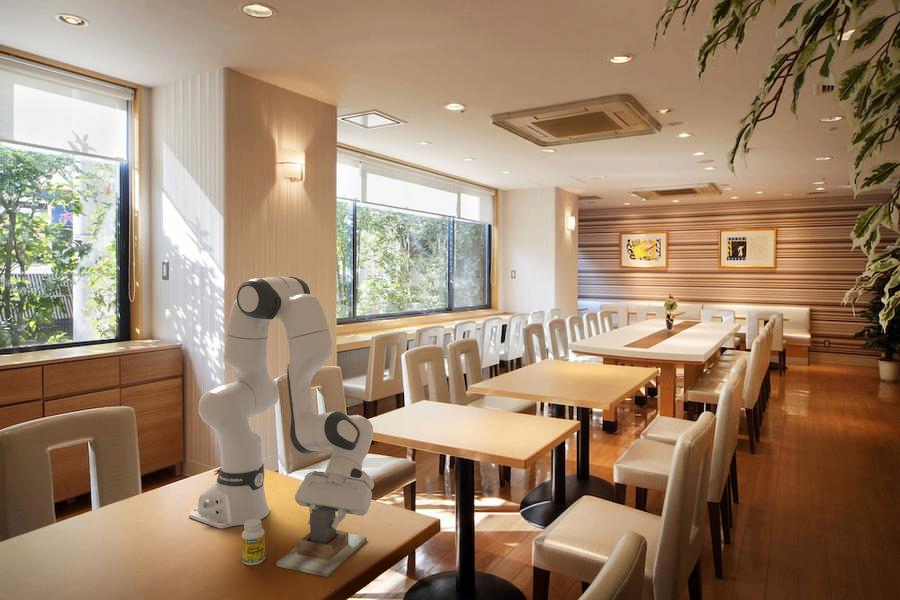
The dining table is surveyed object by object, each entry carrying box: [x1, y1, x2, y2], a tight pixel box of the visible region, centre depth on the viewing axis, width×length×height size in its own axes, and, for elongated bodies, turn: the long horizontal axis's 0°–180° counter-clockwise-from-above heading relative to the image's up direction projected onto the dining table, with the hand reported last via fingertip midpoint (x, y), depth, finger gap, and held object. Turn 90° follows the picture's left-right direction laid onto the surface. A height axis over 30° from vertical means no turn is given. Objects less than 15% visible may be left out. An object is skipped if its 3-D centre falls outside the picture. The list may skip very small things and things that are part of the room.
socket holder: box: [275, 529, 367, 578], centre depth 145 cm, size 14×19×4 cm
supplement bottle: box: [241, 519, 266, 566], centre depth 141 cm, size 5×5×10 cm
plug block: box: [309, 507, 337, 544], centre depth 145 cm, size 4×4×8 cm
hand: (321, 526), depth 144 cm, fingers closed on plug block, 4 cm apart
